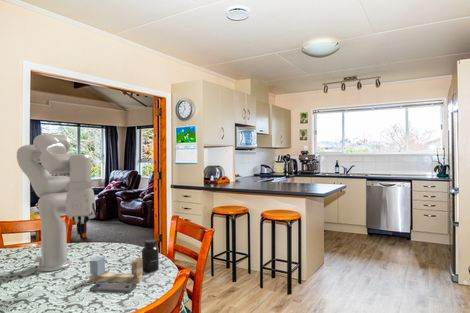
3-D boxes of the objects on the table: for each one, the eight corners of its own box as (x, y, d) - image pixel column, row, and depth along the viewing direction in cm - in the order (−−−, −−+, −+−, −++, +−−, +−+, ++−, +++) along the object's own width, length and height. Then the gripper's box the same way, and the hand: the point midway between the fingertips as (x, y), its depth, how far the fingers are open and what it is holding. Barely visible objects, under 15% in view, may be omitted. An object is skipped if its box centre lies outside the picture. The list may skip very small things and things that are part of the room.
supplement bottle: (154, 273, 127) (153, 243, 127) (138, 272, 128) (138, 242, 128) (161, 267, 134) (161, 239, 134) (146, 266, 135) (146, 238, 135)
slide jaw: (82, 281, 114) (81, 265, 114) (97, 271, 124) (97, 256, 124) (89, 281, 114) (89, 265, 114) (104, 271, 123) (104, 256, 123)
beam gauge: (79, 287, 114) (79, 265, 114) (95, 276, 124) (95, 256, 124) (132, 289, 111) (131, 267, 111) (143, 278, 121) (143, 257, 121)
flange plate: (89, 291, 111) (89, 287, 111) (97, 285, 116) (97, 282, 116) (130, 292, 109) (130, 289, 109) (136, 286, 114) (136, 283, 114)
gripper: (56, 187, 119) (57, 235, 119) (93, 186, 117) (94, 236, 117) (69, 185, 127) (70, 231, 127) (104, 184, 125) (105, 231, 125)
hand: (81, 233), depth 122 cm, fingers closed
